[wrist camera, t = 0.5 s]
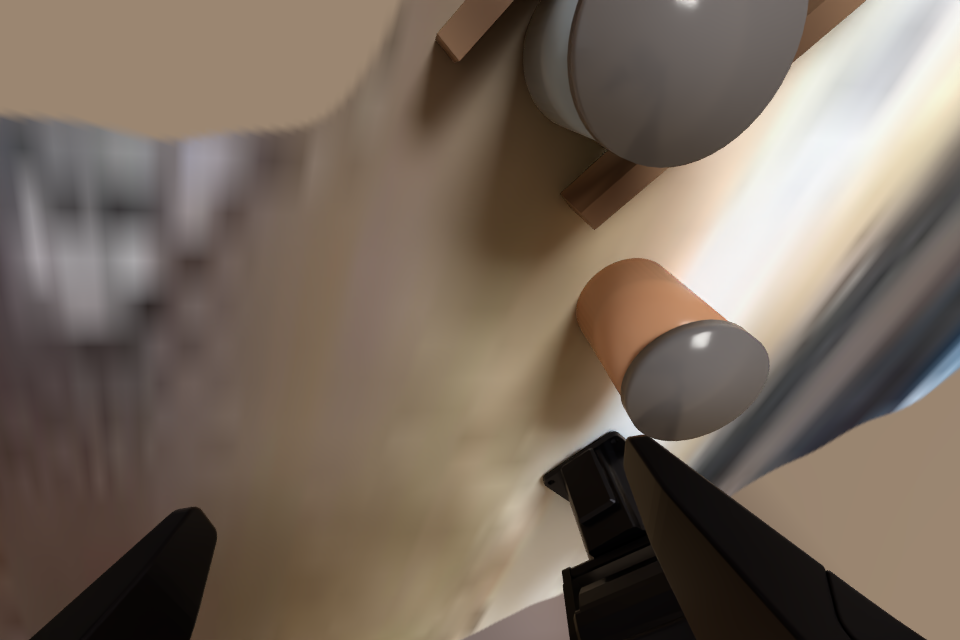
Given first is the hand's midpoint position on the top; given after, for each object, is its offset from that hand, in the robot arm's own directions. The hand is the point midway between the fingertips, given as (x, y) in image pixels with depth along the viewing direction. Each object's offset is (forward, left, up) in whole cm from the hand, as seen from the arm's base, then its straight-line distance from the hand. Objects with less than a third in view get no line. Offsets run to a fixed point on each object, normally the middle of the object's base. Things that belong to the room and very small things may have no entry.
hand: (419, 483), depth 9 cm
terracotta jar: (-10, -6, -13) cm, 17 cm away
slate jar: (+1, -11, -13) cm, 17 cm away
